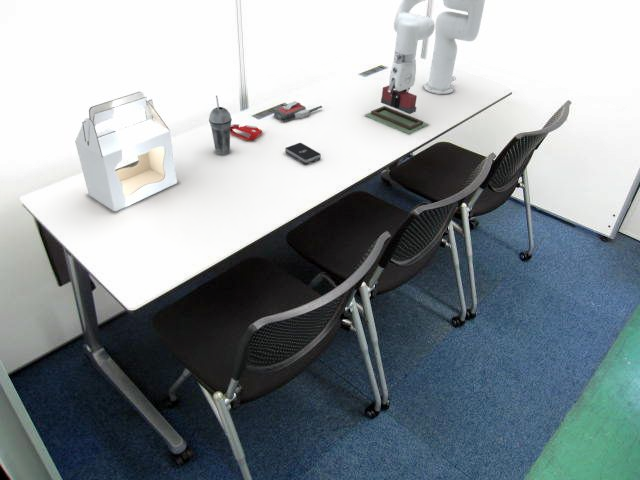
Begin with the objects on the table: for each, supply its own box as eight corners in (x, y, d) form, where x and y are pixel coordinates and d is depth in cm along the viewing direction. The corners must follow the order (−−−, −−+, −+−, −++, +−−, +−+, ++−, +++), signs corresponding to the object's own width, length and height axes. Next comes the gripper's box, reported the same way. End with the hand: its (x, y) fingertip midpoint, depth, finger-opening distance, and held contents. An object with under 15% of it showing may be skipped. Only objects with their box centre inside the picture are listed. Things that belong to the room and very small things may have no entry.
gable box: (114, 213, 151) (92, 119, 134) (87, 195, 158) (64, 104, 141) (178, 183, 165) (166, 94, 148) (151, 168, 172) (137, 82, 155)
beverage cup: (237, 149, 184) (234, 92, 172) (227, 158, 179) (223, 100, 167) (218, 145, 186) (213, 88, 174) (207, 154, 180) (202, 96, 168)
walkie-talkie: (286, 125, 201) (323, 110, 212) (286, 114, 198) (324, 100, 210) (270, 117, 205) (307, 104, 217) (270, 106, 203) (308, 93, 214)
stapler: (415, 111, 202) (418, 96, 198) (409, 114, 199) (412, 98, 196) (386, 100, 209) (388, 85, 206) (380, 102, 207) (382, 87, 204)
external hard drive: (305, 166, 177) (305, 160, 175) (284, 153, 183) (284, 147, 182) (321, 159, 180) (321, 154, 179) (300, 147, 187) (300, 142, 186)
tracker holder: (259, 125, 197) (266, 130, 188) (257, 137, 199) (264, 142, 190) (226, 120, 192) (232, 126, 184) (225, 133, 194) (230, 139, 185)
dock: (385, 107, 217) (385, 103, 216) (427, 125, 205) (428, 120, 204) (365, 116, 210) (365, 111, 209) (408, 134, 198) (409, 129, 197)
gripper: (398, 64, 186) (392, 114, 197) (427, 54, 196) (419, 103, 207) (381, 58, 190) (376, 108, 201) (410, 49, 200) (403, 97, 211)
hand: (398, 105), depth 204 cm, fingers closed on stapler, 3 cm apart
